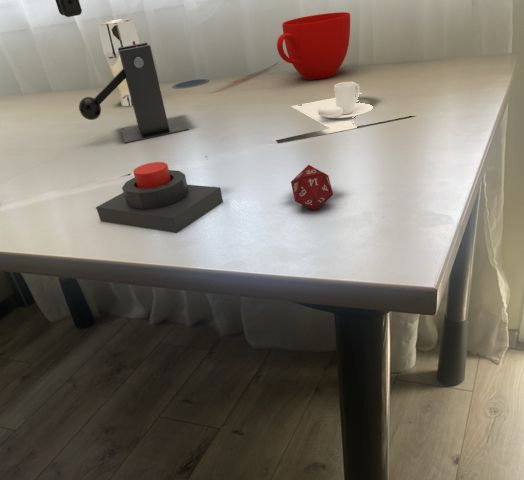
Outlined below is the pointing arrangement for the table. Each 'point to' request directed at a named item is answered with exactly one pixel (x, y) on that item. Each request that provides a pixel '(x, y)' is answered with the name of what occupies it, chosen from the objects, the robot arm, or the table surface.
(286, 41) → the ceramic cup
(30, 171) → the table surface
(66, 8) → the robot arm
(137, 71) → the switch bracket
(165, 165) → the stop button
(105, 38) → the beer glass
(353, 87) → the teacup and saucer
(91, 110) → the switch lever
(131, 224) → the grey button base
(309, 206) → the dice
